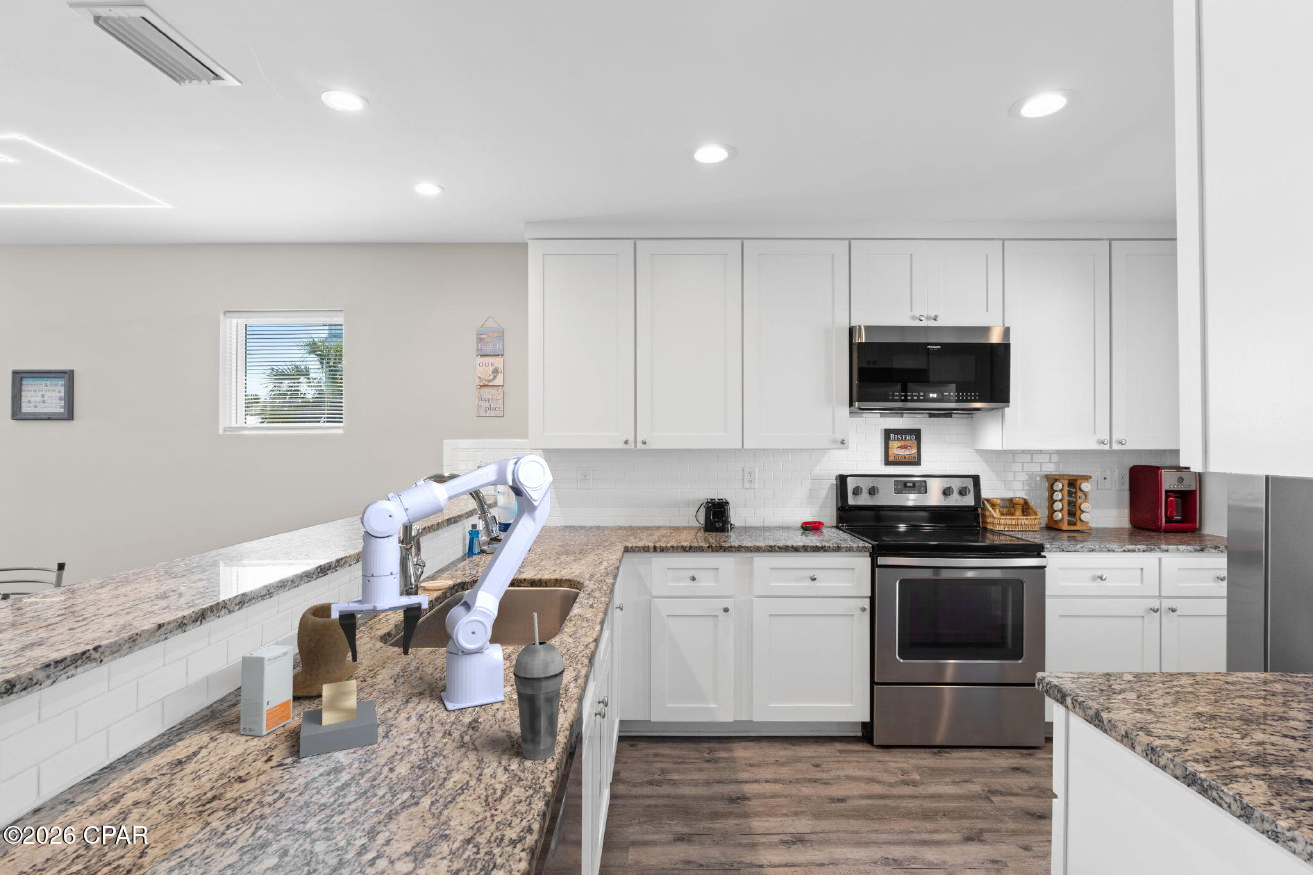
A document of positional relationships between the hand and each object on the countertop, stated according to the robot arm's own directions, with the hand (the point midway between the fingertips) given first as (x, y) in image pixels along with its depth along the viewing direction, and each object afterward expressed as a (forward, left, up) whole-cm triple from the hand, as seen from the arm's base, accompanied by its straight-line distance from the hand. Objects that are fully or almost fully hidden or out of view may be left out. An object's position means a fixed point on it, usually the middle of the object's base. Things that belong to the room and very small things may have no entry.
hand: (380, 656), depth 104 cm
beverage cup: (-19, +25, -10) cm, 33 cm away
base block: (+6, +6, -9) cm, 13 cm away
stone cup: (+8, -19, -10) cm, 23 cm away
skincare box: (+16, -3, -10) cm, 19 cm away
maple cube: (+6, +6, -6) cm, 11 cm away
